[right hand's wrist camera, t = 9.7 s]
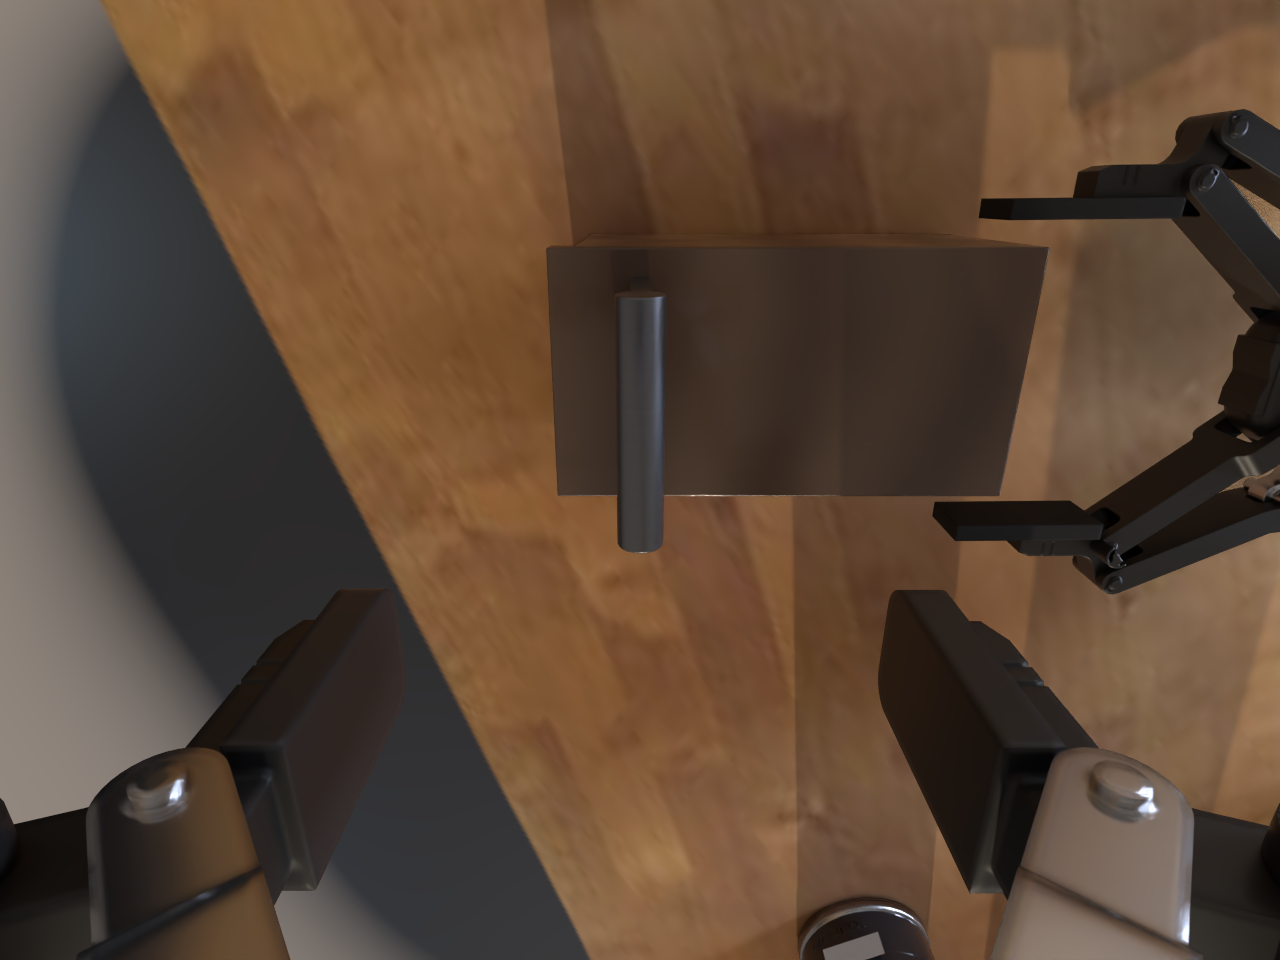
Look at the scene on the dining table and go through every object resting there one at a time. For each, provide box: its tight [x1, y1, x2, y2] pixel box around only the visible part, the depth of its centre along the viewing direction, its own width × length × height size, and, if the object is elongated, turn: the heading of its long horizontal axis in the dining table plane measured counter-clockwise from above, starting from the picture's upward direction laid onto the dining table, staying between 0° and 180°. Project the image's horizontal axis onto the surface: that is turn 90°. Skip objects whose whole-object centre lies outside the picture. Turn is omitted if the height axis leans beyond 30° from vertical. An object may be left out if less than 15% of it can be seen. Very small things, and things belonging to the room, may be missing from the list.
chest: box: [577, 234, 1033, 246], centre depth 33 cm, size 17×10×9 cm, turn 90°
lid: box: [546, 246, 1049, 553], centre depth 25 cm, size 18×10×8 cm, turn 90°
